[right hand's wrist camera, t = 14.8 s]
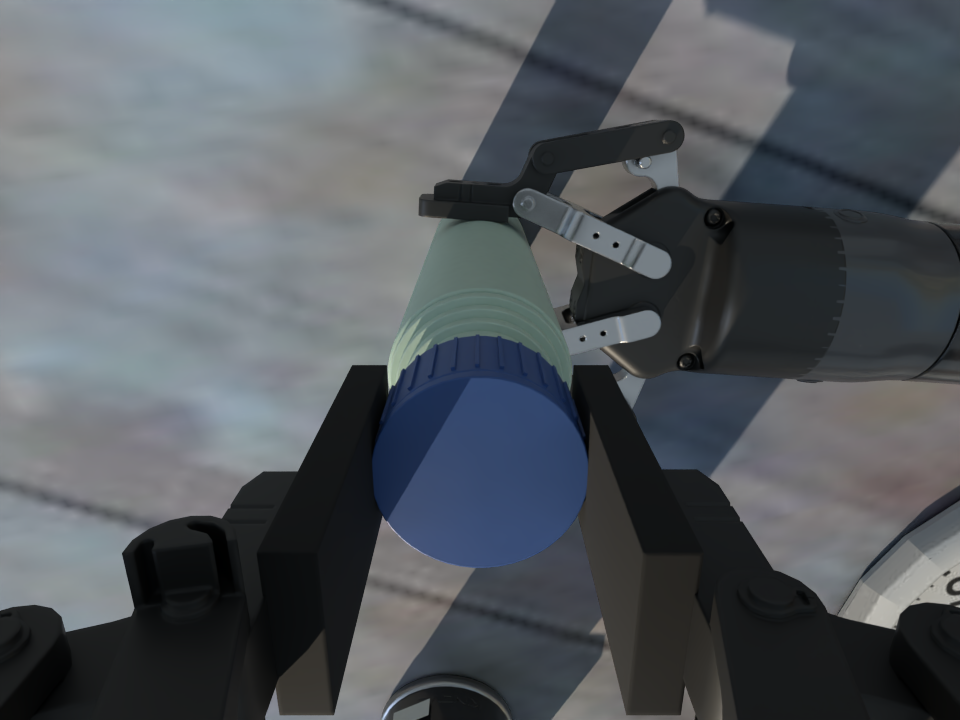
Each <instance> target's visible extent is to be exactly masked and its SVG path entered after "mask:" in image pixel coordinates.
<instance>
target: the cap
mask: <svg viewBox="0 0 960 720" xmlns="http://www.w3.org/2000/svg"><path fill="white" fill-rule="evenodd" d="M379 424H380V427H379V430H378V433H377V436H376V439H375V445H374V449H373V454H372V470H373V485H374V497H375V500H376V503H377V505H378V508H379V510H380V511H381V513H382V515H383V517H384V519H385V520H386V521H387V523H388V524H389V525H390V527H391V528H392V529H393V530H394V532H395V533H396V534H397V535H398V536H399V537H400V538H401V539H402V540H404V541H405V542H406V543H407V544H409V545H410V546H411V547H413V548H414V549H416V550H418V551H419V552H421V553H422V554H425V555H427V556H429V557H431V558H433V559H436V560H439V561H442V562H444V563H448V564H452V565H457V566H463V567H472V568H488V567H497V566H503V565H508V564H512V563H516V562H519V561H521V560H524V559H527V558H529V557H531V556H533V555H535V554H538V553H539V552H541V551H542V550H544V549H546V548H547V547H549V546H550V545H551V544H553V543H554V542H555V541H556V540H558V539H559V538H560V537H561V536H562V535H563V534H564V533H565V532H566V531H567V529H568V528H569V527H570V526H571V524H572V523H573V521H574V520H575V519H576V517H577V515H578V513H579V511H580V510H581V508H582V505H583V503H584V500H585V497H586V490H587V476H588V453H587V449H586V445H585V442H584V440H585V439H586V435H585V432H584V429H583V426H582V423H581V420H580V417H579V414H578V411H577V408H576V405H575V402H574V399H572V396H571V393H570V390H569V387H568V384H567V382H566V381H565V382H563V381H562V379H561V377H560V376H559V374H558V373H557V369H556V367H555V366H554V365H553V366H551V365H550V364H549V363H548V362H547V361H546V360H545V359H544V358H543V357H541V353H539V352H537V353H536V352H535V351H533V350H531V349H529V348H527V347H526V346H524V345H522V343H521V342H518V343H516V342H514V341H511V340H507V339H503V338H502V337H501V336H497V337H491V336H480V335H479V334H476V336H469V337H461V338H458V337H454V339H453V340H449V341H446V342H444V343H441V344H439V345H438V344H435V345H434V346H433V348H431V349H429V350H427V351H425V352H424V353H423V354H421V355H419V354H418V355H417V356H416V357H415V360H414V361H413V362H412V363H411V364H410V365H409V366H408V367H407V368H406V369H404V368H403V369H402V370H401V373H400V376H399V379H398V381H397V382H396V384H395V386H394V385H392V386H391V388H390V391H389V395H388V398H387V401H386V404H385V407H384V410H383V413H382V416H381V419H380V422H379Z"/></svg>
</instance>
